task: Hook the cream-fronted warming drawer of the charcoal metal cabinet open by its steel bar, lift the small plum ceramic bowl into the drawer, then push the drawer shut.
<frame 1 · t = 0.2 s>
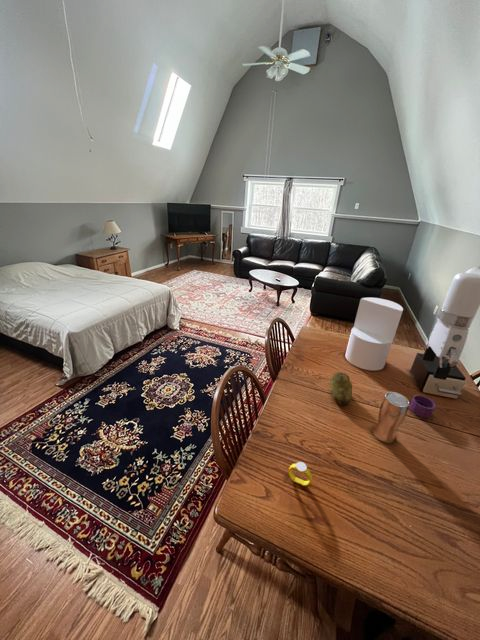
hand: (433, 368, 82), 23 cm above the table, tool pointing down, fingers open, 9 cm apart
cabinet: (431, 383, 112), on the table
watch: (298, 482, 71), on the table
bowl: (419, 411, 97), on the table
green rounded piece: (338, 396, 102), on the table
drawer: (439, 380, 106), point 5 cm above the table, slide at 0.5 cm
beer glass: (383, 435, 86), on the table
cylinder: (364, 359, 126), on the table
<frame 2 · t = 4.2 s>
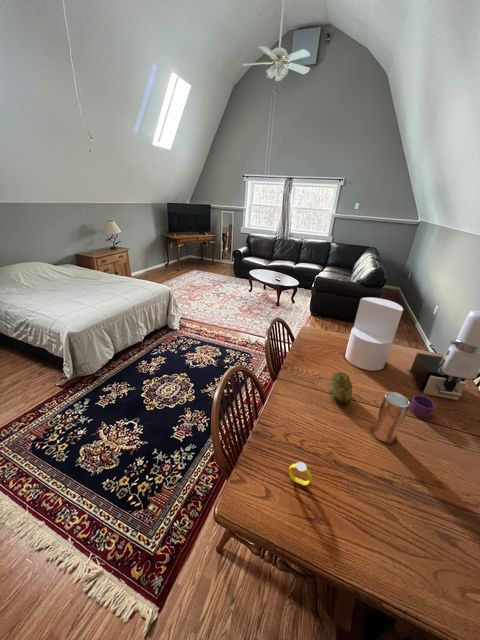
hand: (447, 388, 99), 6 cm above the table, tool pointing down, fingers closed
drawer: (440, 382, 105), point 5 cm above the table, slide at 1.3 cm, touching gripper
everything else where it was.
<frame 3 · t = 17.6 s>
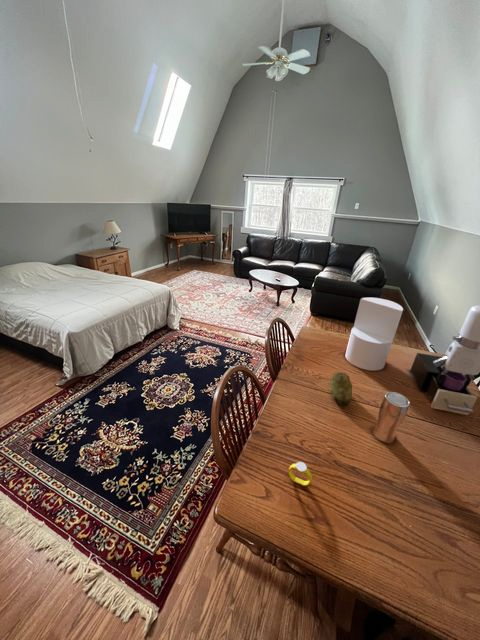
hand: (451, 383, 98), 9 cm above the table, tool pointing down, fingers closed on bowl, 6 cm apart
bowl: (450, 385, 98), point 8 cm above the table, touching gripper
drawer: (448, 395, 98), point 5 cm above the table, slide at 9.4 cm
everything else where it was.
when the fingers open (9 cm above the table, at t = 26.1 s): bowl drops 7 cm, resting on drawer.
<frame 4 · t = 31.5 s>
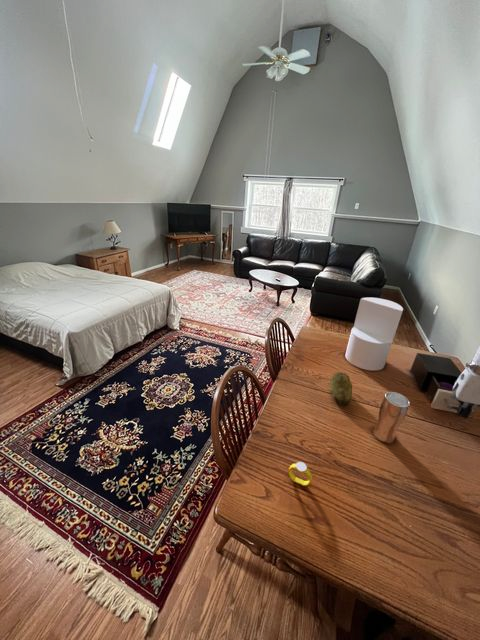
hand: (461, 415, 89), 5 cm above the table, tool pointing down, fingers closed
bowl: (444, 397, 101), point 2 cm above the table, touching drawer
drawer: (448, 395, 98), point 5 cm above the table, slide at 9.4 cm, touching bowl, gripper
everything else where it was.
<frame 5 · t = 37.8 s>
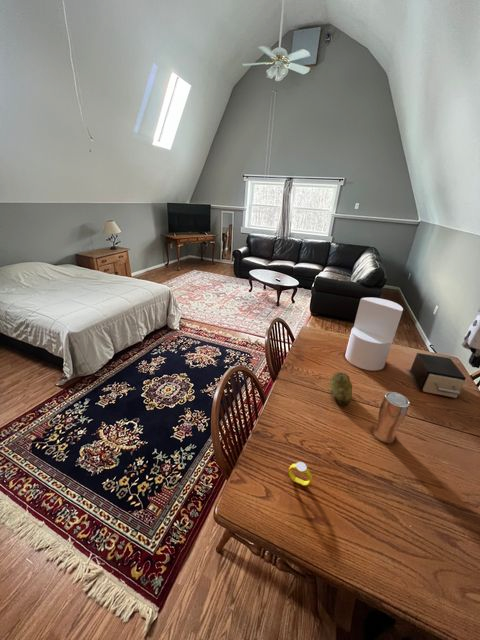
hand: (473, 365, 87), 21 cm above the table, tool pointing down, fingers closed
bowl: (435, 382, 109), point 2 cm above the table, touching drawer
drawer: (439, 380, 106), point 5 cm above the table, slide at 0.0 cm, touching bowl
everything else where it was.
at the end: drawer pulled out 10.0 cm at the most during the clip, back to where it started at the end; bowl inside the target area in the cabinet (2.0 cm from its centre), point 2.0 cm above the cabinet's base; drawer slide at 0.0 cm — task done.
